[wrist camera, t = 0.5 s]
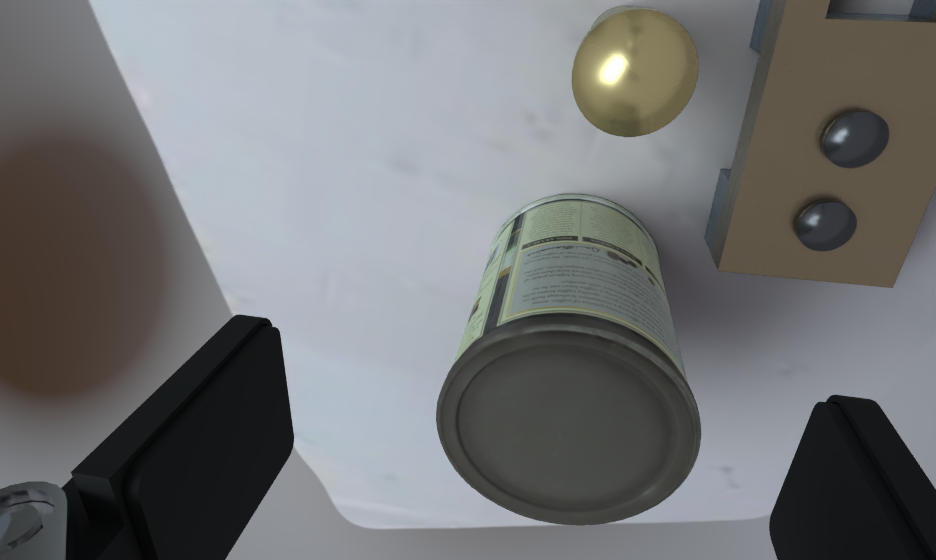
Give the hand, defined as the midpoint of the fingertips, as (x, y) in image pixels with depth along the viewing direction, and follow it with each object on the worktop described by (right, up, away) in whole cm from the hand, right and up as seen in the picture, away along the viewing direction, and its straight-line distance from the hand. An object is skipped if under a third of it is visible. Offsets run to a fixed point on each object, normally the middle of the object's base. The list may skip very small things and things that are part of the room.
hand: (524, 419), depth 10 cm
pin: (+6, +14, +18) cm, 24 cm away
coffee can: (+5, +3, +25) cm, 26 cm away
